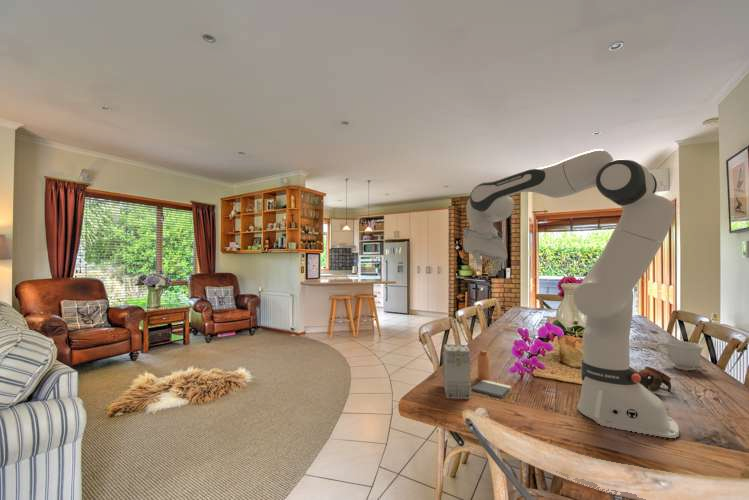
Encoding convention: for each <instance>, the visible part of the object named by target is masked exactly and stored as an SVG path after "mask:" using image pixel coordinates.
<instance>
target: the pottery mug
mask: <svg viewBox="0 0 749 500" xmlns="http://www.w3.org/2000/svg"><path fill="white" fill-rule="evenodd" d="M638 373H639V375H640V377H641V381H640V382H639V383H640V384H641V385H643V386H644V387H645V388H646V389H648V388H649V389H650V390H651V391H653V392H659V389H660V388H661V386H662V385H663V384H664V386H665V385H666V387H667V391H668V392H671V390H672V383H671V380H672V378H671V376H669V375H667V374H666V373H664V372H662V371H660V370H659V369H655V368H653V367H650V366H645V367H644V368H642V369H641V370H638ZM649 389H648V390H649Z"/></svg>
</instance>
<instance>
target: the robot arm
mask: <svg viewBox="0 0 749 500" xmlns="http://www.w3.org/2000/svg"><path fill="white" fill-rule="evenodd" d="M657 183H658V182H657V179H656V177H655V176H654V174H653V173H651V172H650V170H649V169H648V168H647V167H646V166H644V165H643V164H641V163H638V162H637V161H635V160H632V159H627V158H626V159H625V158H621V159H620V158H619V159H615V160H614V158H613V156H612V155H611V154H610V153H609V152H608V151H606V150H605V149H602V148H601V149H599V148H598V149H593V150H590V151H589V150H588V151H585V152H583V153H579V154H576V155H574V156H571V157H569V158H566V159H564V160H562V161H559V162H557V163H554V164H551V165H550V164H549V165H547V166H544V167H539V168H538V167H537V168H531V169H528V170H524V171H521V172H519V173H515V174H512V175H509V176H506V177H504V178H501V179H498V180H496V181H490V182H481V183H479V184H478V185H476V186H475V187H474V188H473V189H472V191H471V193H470V195H469V196H470V197H469V199H467V202H466V206H465V207H466V210H465V211H466V217H467V221H468V224H469V227H468V228H467V227H466V228H464V229H463V230H462V231H463V237H462V241H463V242H462V243H463V249H464V251H465V252H466V253H469V254H472V257H473V258H474V260H475V263H476V265H477V266H482V265H483V264H484V260H483V259H482V258H485V259H488V260H491V261H493V263H495V264H494V265H493V270H495V271H497V272H498V271H500V270H501V269H502V268H501V263H502V262H504V261H507V259H508V251H507V247H506V246H507V245H506V243H505V242H504V240H505V237H504V235H503V234H502V233H501V232H499V230H497V228H496V227H494V223H498V222H501V221H504V220H506V219H508V218H510V217H511V215H512V214H513V213H514V210H515V207H516V204H515V203H516V202H515V200H514V199H513V198H512V197H511V196H513V195H517V194H520V193H524V192H525V193H527V192H528V193H536V194H540V195H543V196H546V197H551V198H554V199H558V198H559V199H560V198H564V197H569V196H572V195H575V194H578V193H580V192H583V191H585V190H588V189H589V190H590V189H592V188H597V190H598V191H599V193H601V195H602V196H603V197H605V198H606V199H607V200H610V201H612V202H613V203H614V204H616V205H618V206H621V209H622V212H621V215H620V218H619V220H618V222H617V224H616V226H615V228H614V229H613V231H612V233H611V236H610V237H609V239H608V241H607V243H606V245H605V247H604V249H603V250H602V252H601V254H600V255H599V257H598V258H597V259H596V261H595V262H594V264H593V265H592V267H590V270H589V271H588V272H587V274H586V275H585V277H584V278H583V280H582V281H581V283H580V284H579V285H578V287H577V288H576V289H575V290H574V293H573V299H572V300H573V303H574V306H575V307H576V309H577V310H578V311H579V312H580V313H581V314H583V315H585V316H586V321H585V322H586V323H585V327H584V330H583V332H582V360H581V363H580V377H581V380H582V383H581V384H582V385H581V391H580V392H581V393H580V396H579V401H578V404H577V410H578V412H580V413H581V414H582V415H583V416H586V417H588V418H589V419H591V420H593V421H595V422H596V423H597V424H598V425H599V424H600V426H602V427H605V426H606V428H610V427H611V428H612V429H615V428H616V430H621V431H625V430H626V432H630V431H632V432H631V433H635V432H637V433H636V434H641V433H643V434H642V435H646V434H650V435H649V436H651V435H658V436H664V437H669V438H675V439H676V437H677V438H678V437H679V436H680V428H679V424H678V423H677V422H676V421H675V420H674V419H673V418H672V417H670V416H668V413H667V409H666V407H665V405H664V403H663V401H662V399H661V398H659V397H658V396H657V395H656V394H654V393H653V392H652V391H650V390H649V389H646V388H645V387H644V386H643V385H641V384H640V383H639V382H640V381H641V377H640V375H639V373H638V372H639V370H637V368H635V369H634V368H633V367H631V366H630V365H631V364H630V335H631V328H632V319H633V318H632V317H633V308H634V307H633V305H634V292H633V289H634V288H635V287H636V285H637V284H638V283H639V281H640V279H641V278H642V277H643V275H644V274H645V273H646V272H647V270H648V269H649V267H650V265H651V264H652V262H653V260H654V258H655V257H656V255H657V253H658V251H659V250H660V248H661V247H662V244H663V243H664V241H665V239H666V237H667V235H668V233H669V231H670V228H671V225H672V223H673V220H674V217H675V214H676V206H675V204H674V203H673V202H672V201H671V200H670V199H668V198H666V197H664V196H661V195H657V194H656V191H657V187H658V184H657ZM481 257H482V258H481ZM611 428H610V429H611Z"/></svg>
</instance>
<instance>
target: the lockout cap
mask: <svg viewBox="0 0 749 500" xmlns="http://www.w3.org/2000/svg"><path fill="white" fill-rule="evenodd" d="M477 380H479V381H482V380H487V381H490V355H489V354H488V351H487V350H484V349H483V350H482V349H480V350H479V352H478V353H477Z"/></svg>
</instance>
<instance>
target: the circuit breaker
mask: <svg viewBox="0 0 749 500" xmlns="http://www.w3.org/2000/svg"><path fill="white" fill-rule="evenodd" d="M470 353H471V350H470V348H469V347H468V346H467V345H466V344H448V343H447V344H446V343H445V344H444V343H443V351H442V375H443V389H444V390H443V391H444V392H445V393H444V394H445V396H446V398H447V399H462V400H463V399H466V400H468V399H469V400H471V399H472V398H471V393H472V385H471V365H472V364H471V355H470Z"/></svg>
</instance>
